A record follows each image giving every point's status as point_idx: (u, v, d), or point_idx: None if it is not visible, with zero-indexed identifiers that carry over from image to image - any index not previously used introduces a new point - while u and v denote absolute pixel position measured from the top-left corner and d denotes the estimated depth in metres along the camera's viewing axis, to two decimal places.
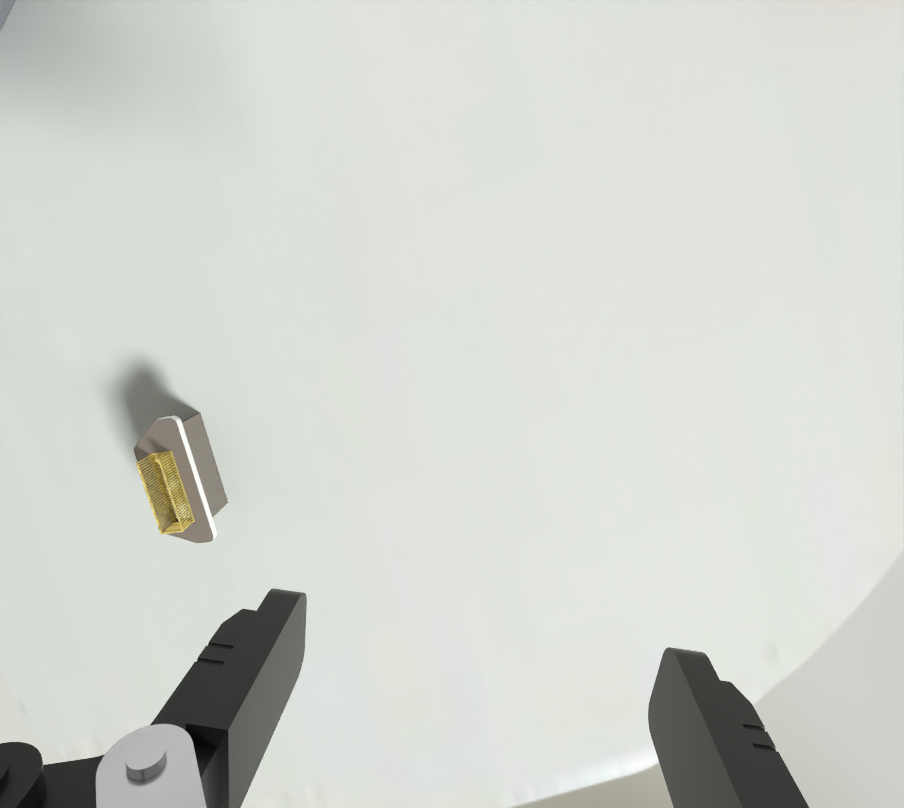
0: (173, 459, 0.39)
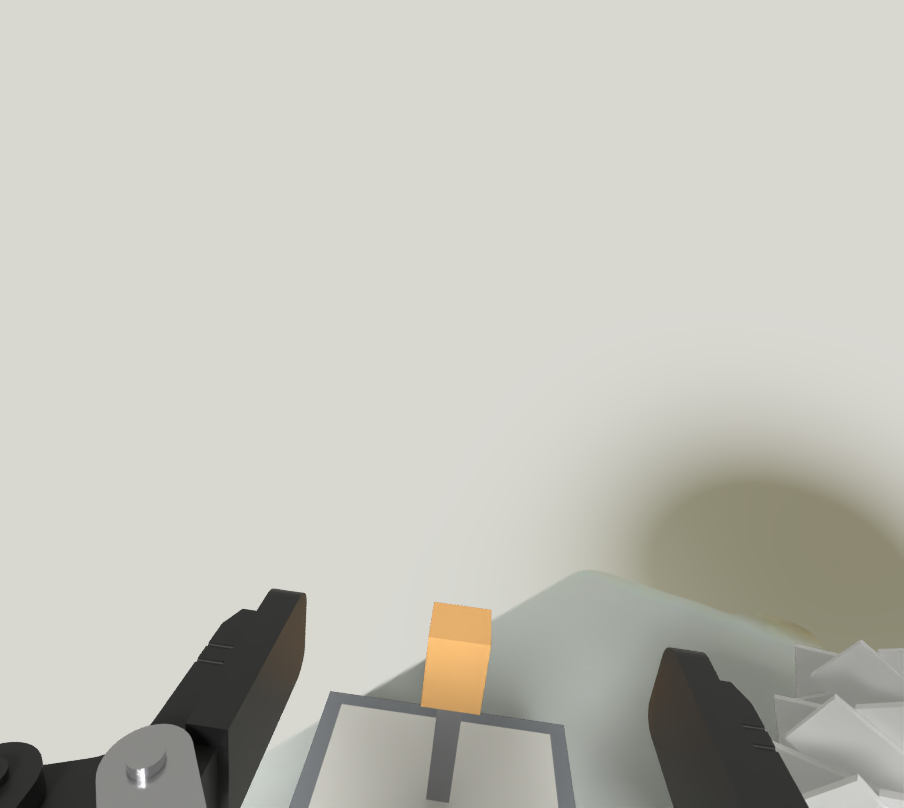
0: None
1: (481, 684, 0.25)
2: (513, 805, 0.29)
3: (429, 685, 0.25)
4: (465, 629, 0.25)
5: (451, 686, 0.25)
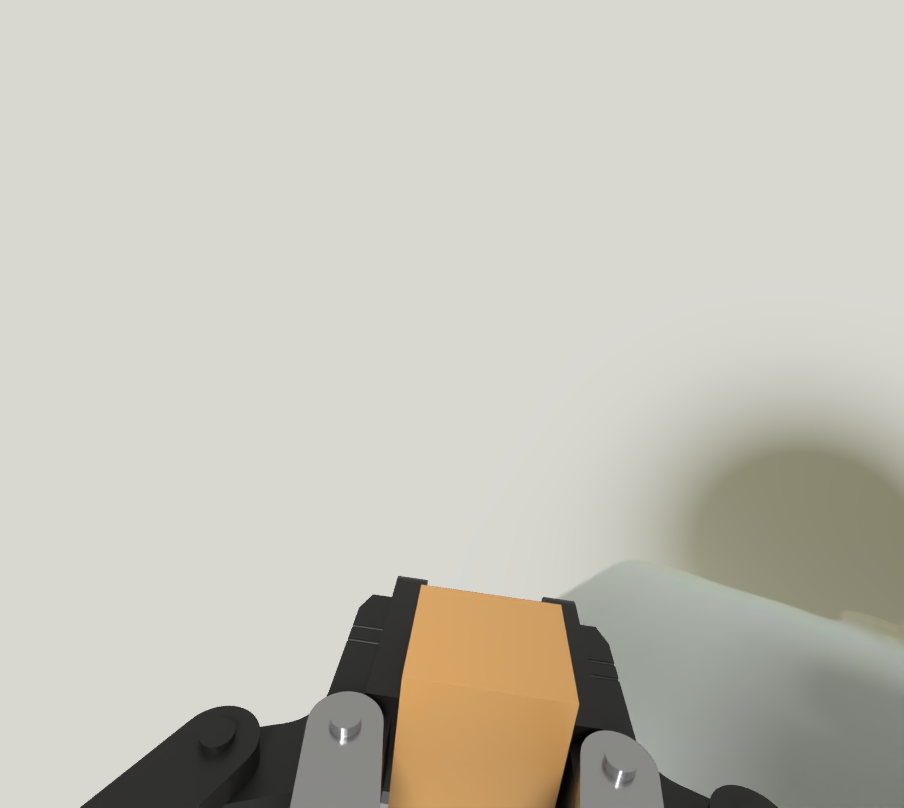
0: None
1: (546, 806, 0.09)
2: None
3: (405, 804, 0.09)
4: (504, 656, 0.09)
5: None
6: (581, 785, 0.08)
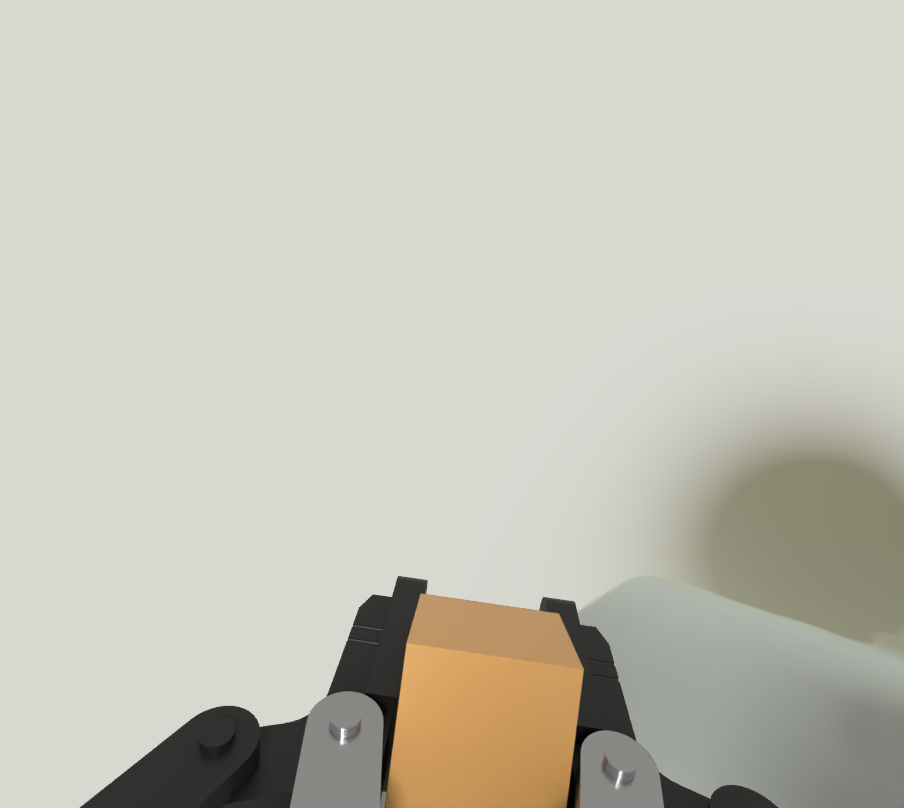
0: None
1: None
2: None
3: None
4: (506, 637, 0.09)
5: None
6: (581, 785, 0.08)
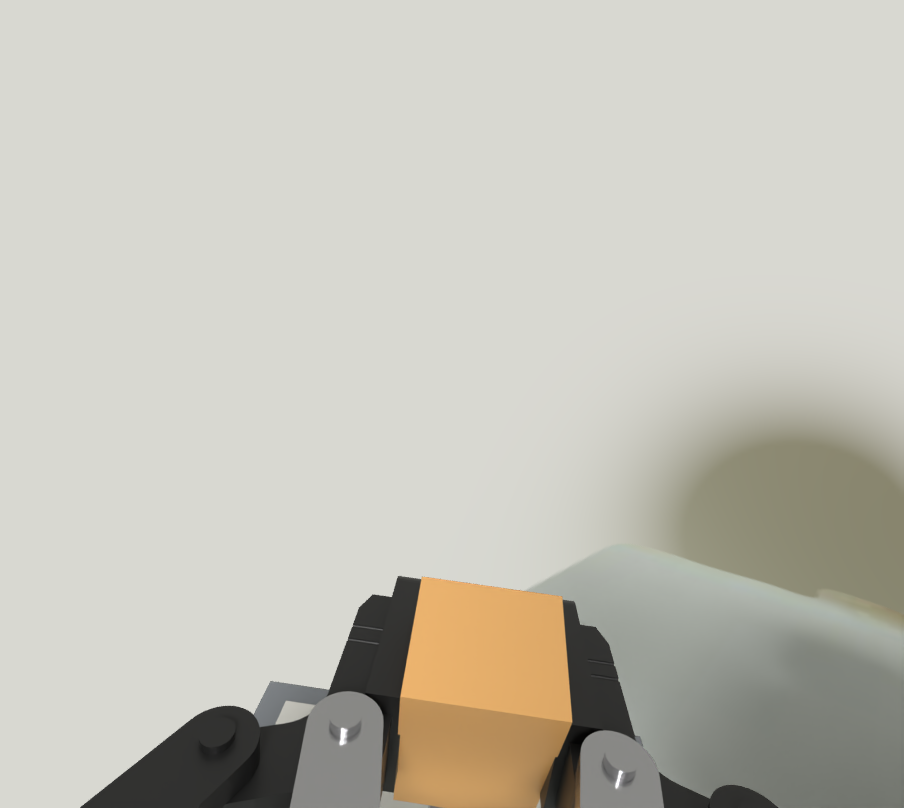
0: None
1: (538, 782, 0.10)
2: None
3: (410, 773, 0.10)
4: (501, 665, 0.09)
5: (463, 778, 0.10)
6: (581, 785, 0.08)
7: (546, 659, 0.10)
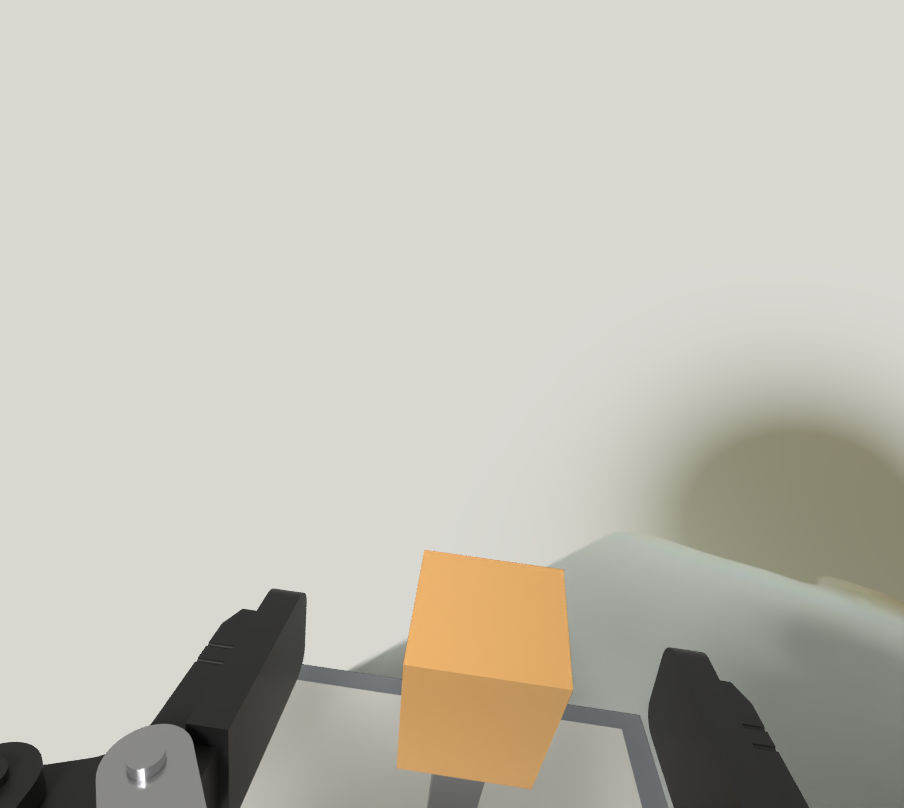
0: None
1: (539, 750, 0.10)
2: None
3: (413, 742, 0.10)
4: (503, 635, 0.09)
5: (465, 747, 0.10)
6: None
7: (547, 629, 0.10)
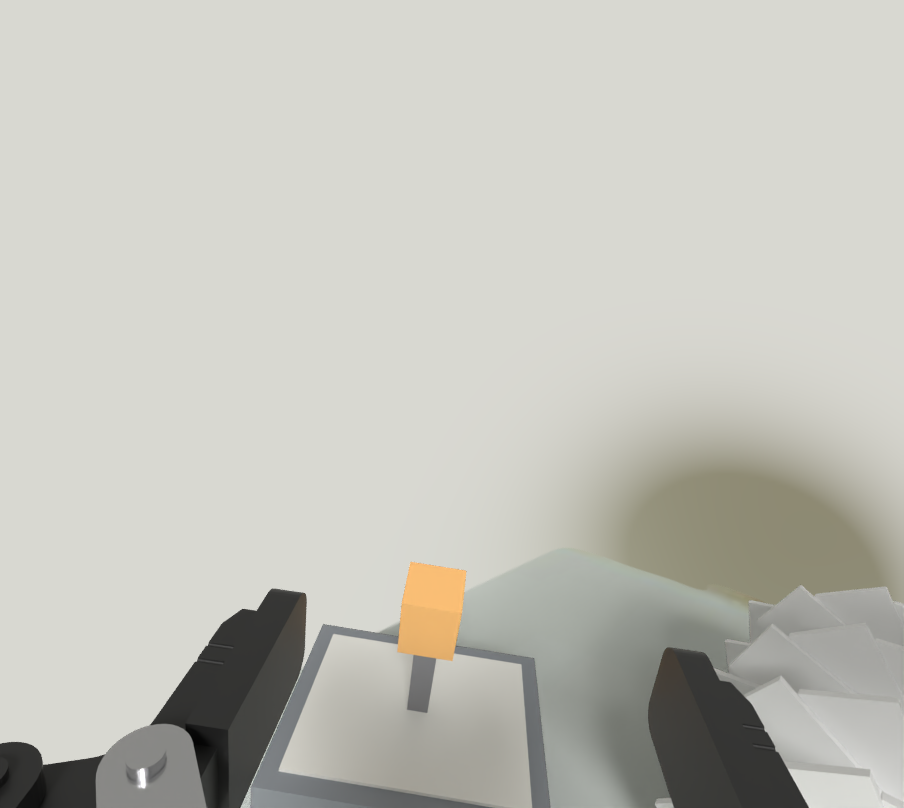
0: None
1: (453, 640, 0.26)
2: (485, 716, 0.32)
3: (404, 638, 0.26)
4: (439, 594, 0.26)
5: (425, 640, 0.26)
6: None
7: (456, 592, 0.26)
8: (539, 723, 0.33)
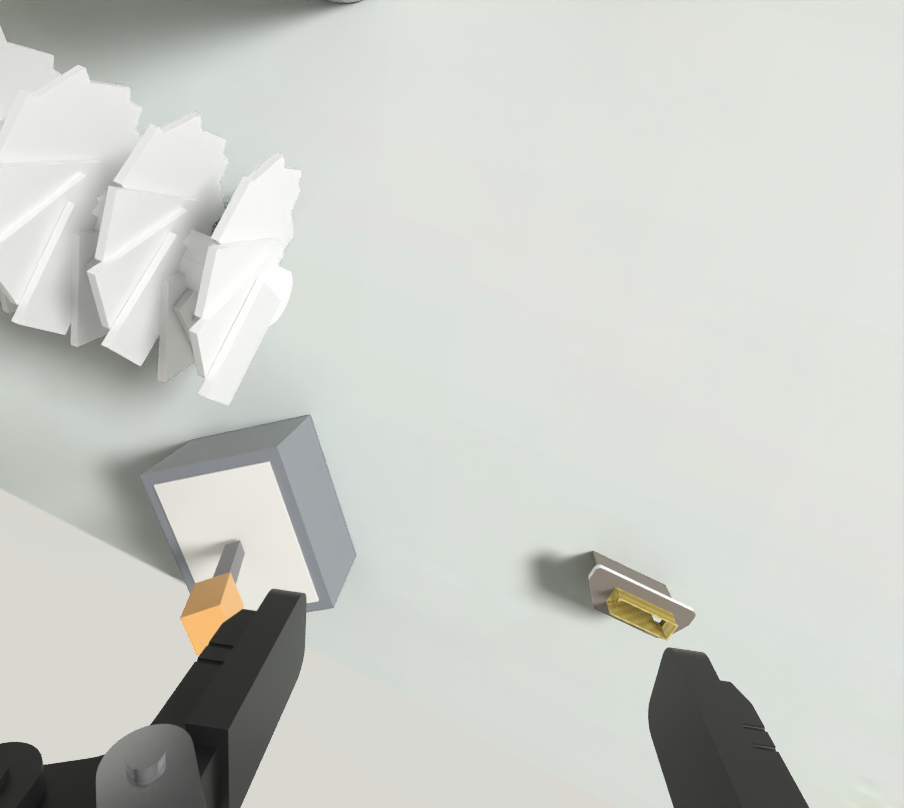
0: (622, 590, 0.47)
1: (227, 587, 0.36)
2: (217, 501, 0.44)
3: None
4: (213, 624, 0.34)
5: (234, 601, 0.36)
6: None
7: (205, 615, 0.34)
8: (200, 463, 0.43)
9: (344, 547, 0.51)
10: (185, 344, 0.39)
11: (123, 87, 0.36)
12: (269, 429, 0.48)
